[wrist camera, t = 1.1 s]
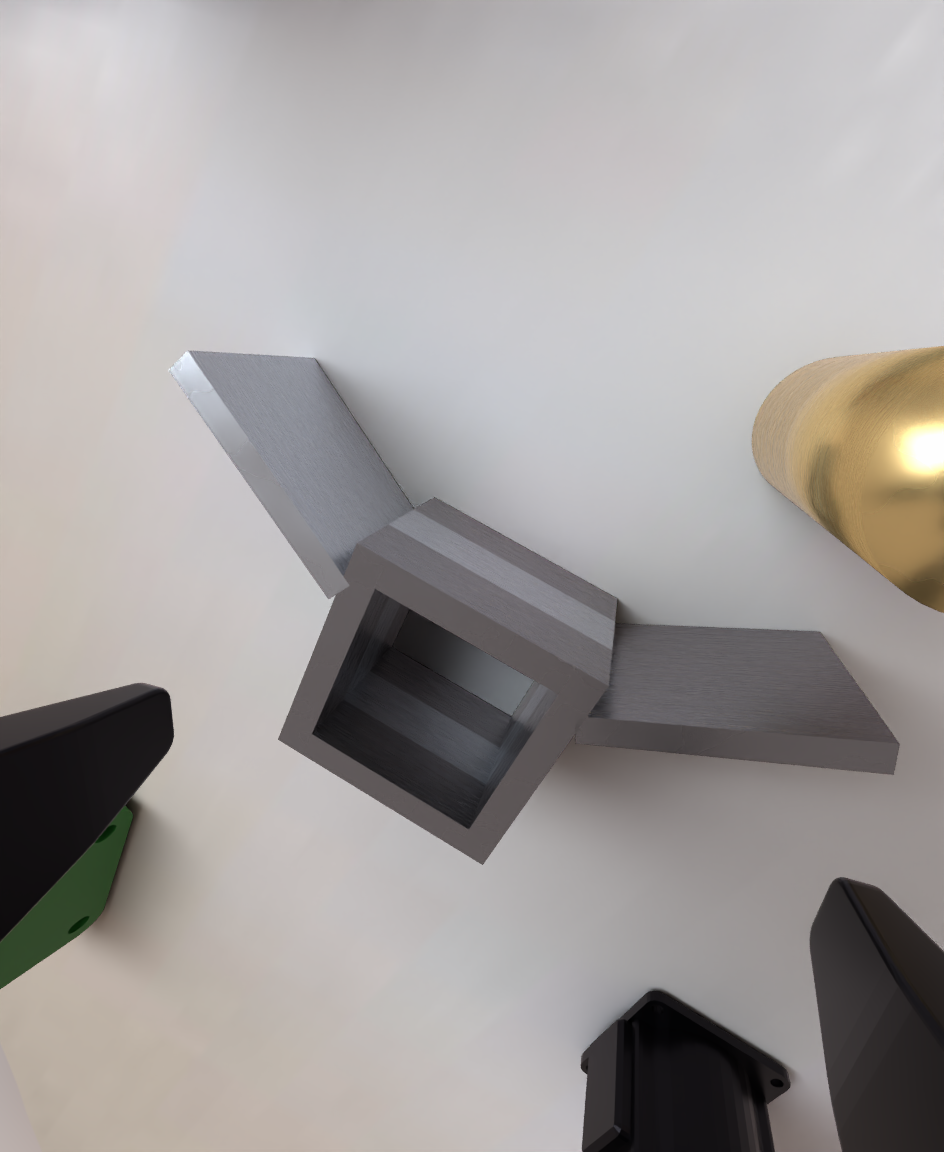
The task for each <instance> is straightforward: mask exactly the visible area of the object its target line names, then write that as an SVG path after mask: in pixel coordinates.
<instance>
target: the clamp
mask: <svg viewBox="0 0 944 1152" xmlns="http://www.w3.org/2000/svg"><path fill="white" fill-rule="evenodd" d="M132 818H133V814H132V812H131V811H130V810H129V809H128V808H127V806H126V805H125V806H124V807H123V809H122V810H121V811H120V812H119V814H118V815H117V816H116V817H115V819H114V820H113V821H112V822H111V824H110V825H109V826H108V827H107V828H106V830H105V831H104V832H103V833H102V834H101V836H100V837H99V838H98V839H97V840H96V841H95V843H94V844H93V845H92V846H91V847H90V848H89V849H88V850H87V851H86V852H85V854H84V855H83V856H82V857H81V858H80V859H79V860H78V861H77V862H76V863H75V864H74V865H73V866H72V867H71V868H70V870H69V871H68V872H67V873H66V874H65V875H64V876H63V877H62V878H61V879H60V880H59V881H58V882H57V883H56V884H55V885H54V886H53V887H52V889H51V890H50V891H49V892H48V893H47V894H46V895H45V896H44V897H43V898H42V899H41V900H40V901H39V902H38V903H37V904H36V905H35V906H34V907H33V909H32V910H31V911H30V912H29V913H28V914H27V915H26V916H25V917H24V918H23V919H22V920H21V921H20V922H19V923H18V924H17V925H16V926H15V928H14V929H13V930H12V931H11V932H10V933H9V934H8V935H7V936H6V937H5V938H4V939H3V940H2V941H1V942H0V989H1V988H3V987H4V986H6V985H7V984H9V983H10V982H11V981H13V980H14V979H16V978H17V977H19V976H20V975H22V974H23V973H25V972H26V971H28V970H29V969H30V968H32V967H33V966H35V965H36V964H38V963H39V962H41V961H42V960H44V959H45V958H47V957H48V956H49V955H51V954H52V953H54V952H55V951H57V950H58V949H60V948H61V947H63V946H64V945H66V944H67V943H68V942H70V941H71V940H73V939H74V938H76V937H77V936H79V935H80V934H81V933H82V932H84V931H85V930H86V929H87V928H88V927H89V926H91V925H92V924H93V923H94V922H95V920H96V919H97V918H98V917H99V916H100V914H101V913H102V911H103V910H104V907H105V904H106V901H107V897H108V894H109V891H110V888H111V885H112V882H113V878H114V875H115V872H116V869H117V866H118V863H119V859H120V856H121V853H122V850H123V847H124V844H125V840H126V837H127V834H128V831H129V828H130V825H131V822H132Z"/></svg>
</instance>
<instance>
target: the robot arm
mask: <svg viewBox="0 0 944 1152" xmlns="http://www.w3.org/2000/svg"><path fill="white" fill-rule="evenodd" d="M173 738H174V729H173V719H172V709H171V699H170V695H169V694H168V692H167V691H166V690H165V689H163V688H161V687H157V686H153V685H150V684H146V683H135V684H131V685H127V686H123V687H119V688H115V689H111V690H107V691H103V692H99V693H95V694H91V695H87V696H83V697H79V698H75V699H71V700H67V701H63V702H59V703H55V704H51V705H47V706H43V707H39V708H35V709H31V710H27V711H23V712H19V713H15V714H11V715H7V716H3V717H0V942H1V941H2V940H3V939H4V938H5V937H6V936H7V935H8V934H9V933H10V932H11V931H12V930H13V929H14V928H15V926H16V925H17V924H18V923H19V922H20V921H21V920H22V919H23V918H24V917H25V916H26V915H27V914H28V913H29V912H30V911H31V910H32V909H33V907H34V906H35V905H36V904H37V903H38V902H39V901H40V900H41V899H42V898H43V897H44V896H45V895H46V894H47V893H48V892H49V891H50V890H51V889H52V887H53V886H54V885H55V884H56V883H57V882H58V881H59V880H60V879H61V878H62V877H63V876H64V875H65V874H66V873H67V872H68V871H69V870H70V868H71V867H72V866H73V865H74V864H75V863H76V862H77V861H78V860H79V859H80V858H81V857H82V856H83V855H84V854H85V852H86V851H87V850H88V849H89V848H90V847H91V846H92V845H93V844H94V843H95V841H96V840H97V839H98V838H99V837H100V836H101V834H102V833H103V832H104V831H105V830H106V828H107V827H108V826H109V825H110V824H111V822H112V821H113V820H114V819H115V817H116V816H117V815H118V814H119V812H120V811H121V810H122V809H123V807H124V806H125V805H126V804H127V802H128V801H129V800H130V799H131V797H132V796H133V795H134V794H135V792H136V791H137V790H138V789H139V787H140V786H141V785H142V784H143V782H144V781H145V780H146V779H147V777H148V776H149V775H150V774H151V772H152V771H153V770H154V769H155V767H156V766H157V765H158V764H159V762H160V761H161V760H162V759H163V757H164V756H165V755H166V754H167V752H168V751H169V749H170V747H171V745H172V742H173ZM810 952H811V960H812V967H813V974H814V982H815V989H816V997H817V1004H818V1011H819V1019H820V1026H821V1033H822V1041H823V1048H824V1056H825V1063H826V1070H827V1077H828V1084H829V1090H830V1096H831V1102H832V1107H833V1112H834V1117H835V1122H836V1126H837V1131H838V1136H839V1140H840V1144H841V1148H842V1152H944V951H943V950H942V949H941V948H940V947H939V946H938V945H937V944H936V943H935V942H934V941H933V940H932V939H931V938H930V937H929V936H928V935H927V934H926V933H925V932H924V931H923V930H922V929H921V928H920V927H919V926H918V925H917V924H916V923H915V922H914V921H913V920H912V919H911V918H910V917H909V916H908V915H907V914H906V913H905V912H904V911H903V910H902V909H901V908H900V907H899V906H898V905H897V904H896V903H895V902H894V901H893V900H892V899H891V898H890V897H889V896H888V895H887V894H885V893H884V892H883V891H882V890H881V889H879V888H878V887H875V886H873V885H870V884H866V883H863V882H859V881H855V880H852V879H848V878H844V877H840V878H836V879H835V880H834V881H833V882H832V883H831V885H830V887H829V889H828V891H827V893H826V895H825V898H824V900H823V902H822V904H821V906H820V909H819V911H818V913H817V915H816V917H815V920H814V922H813V924H812V927H811V932H810ZM581 1069H582V1070H583V1072H585V1073H586V1074H587V1087H586V1100H585V1114H584V1127H583V1140H582V1152H775V1149H774V1143H773V1138H772V1132H771V1126H770V1120H769V1115H768V1109H767V1104H768V1103H770V1102H771V1101H773V1100H774V1099H776V1098H777V1097H778V1096H780V1095H781V1094H783V1093H784V1092H786V1091H787V1090H788V1089H789V1088H790V1080H789V1076H788V1072H787V1071H786V1069H785V1068H783V1067H782V1066H780V1065H779V1064H777V1063H775V1062H774V1061H772V1060H771V1059H769V1058H767V1057H766V1056H764V1055H762V1054H761V1053H759V1052H758V1051H756V1050H754V1049H753V1048H751V1047H749V1046H748V1045H746V1044H745V1043H743V1042H741V1041H740V1040H738V1039H737V1038H735V1037H733V1036H732V1035H730V1034H728V1033H727V1032H725V1031H724V1030H722V1029H720V1028H719V1027H717V1026H715V1025H714V1024H712V1023H711V1022H709V1021H707V1020H706V1019H704V1018H702V1017H701V1016H699V1015H698V1014H696V1013H694V1012H693V1011H691V1010H689V1009H688V1008H686V1007H685V1006H683V1005H681V1004H680V1003H678V1002H676V1001H675V1000H673V999H672V998H670V997H668V996H667V995H665V994H663V993H661V992H658V991H650V992H648V993H647V994H646V995H644V996H643V997H642V998H641V999H640V1000H639V1001H638V1002H637V1003H636V1004H635V1005H634V1006H633V1007H632V1008H631V1009H630V1010H629V1011H627V1012H626V1013H625V1014H624V1015H623V1016H622V1017H621V1018H620V1019H618V1020H617V1021H615V1022H614V1023H613V1024H612V1025H611V1026H610V1027H609V1028H608V1029H607V1030H606V1031H605V1032H604V1033H603V1034H602V1035H601V1036H599V1037H598V1038H597V1039H596V1040H595V1041H594V1042H593V1043H592V1044H591V1045H590V1047H589V1048H588V1049H587V1050H586V1051H585V1052H584V1053H583V1054H582V1056H581Z"/></svg>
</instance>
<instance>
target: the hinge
mask: <svg viewBox="0 0 944 1152" xmlns="http://www.w3.org/2000/svg"><path fill="white" fill-rule="evenodd" d="M169 372H170V373H171V374H172V376H173V377H174V379H175V380H176V382H177V383H178V384H179V386H180V387H181V389H182V390H183V392H184V393H185V394H186V396H187V397H188V399H189V400H190V402H191V403H192V404H193V406H194V407H195V409H196V410H197V412H198V413H199V414H200V416H201V417H202V419H203V420H204V422H205V423H206V425H207V426H208V427H209V429H210V430H211V432H212V433H213V435H214V436H215V437H216V439H217V440H218V442H219V443H220V445H221V446H222V447H223V449H224V450H225V452H226V453H227V455H228V456H229V457H230V459H231V460H232V462H233V463H234V465H235V466H236V467H237V469H238V470H239V472H240V473H241V475H242V476H243V478H244V479H245V480H246V482H247V483H248V485H249V486H250V488H251V489H252V490H253V492H254V493H255V495H256V496H257V498H258V499H259V500H260V502H261V503H262V505H263V506H264V508H265V509H266V510H267V512H268V513H269V515H270V516H271V518H272V519H273V520H274V522H275V523H276V525H277V526H278V528H279V529H280V531H281V532H282V533H283V535H284V536H285V538H286V539H287V541H288V542H289V543H290V545H291V546H292V548H293V549H294V551H295V552H296V553H297V555H298V556H299V558H300V559H301V561H302V562H303V563H304V565H305V566H306V568H307V569H308V571H309V572H310V573H311V575H312V576H313V578H314V579H315V581H316V582H317V584H318V585H319V586H320V588H321V589H322V591H323V592H324V594H325V595H326V596H327V598H328V599H330V598H331V597H333V596H334V595H336V596H335V599H334V601H333V604H332V606H331V609H330V611H329V614H328V616H327V619H326V621H325V624H324V626H323V629H322V631H321V634H320V636H319V639H318V641H317V644H316V646H315V649H314V651H313V654H312V656H311V659H310V661H309V664H308V666H307V669H306V671H305V674H304V676H303V679H302V681H301V684H300V686H299V689H298V691H297V693H296V696H295V698H294V701H293V703H292V706H291V708H290V711H289V713H288V716H287V718H286V721H285V723H284V726H283V728H282V731H281V733H280V736H279V738H278V740H280V741H281V742H283V743H285V744H286V745H288V746H289V747H291V748H293V749H294V750H296V751H298V752H299V753H301V754H302V755H304V756H306V757H307V758H309V759H311V760H312V761H314V762H316V763H317V764H319V765H320V766H322V767H324V768H325V769H327V770H329V771H330V772H332V773H333V774H335V775H337V776H338V777H340V778H342V779H343V780H345V781H347V782H348V783H350V784H351V785H353V786H355V787H356V788H358V789H360V790H361V791H363V792H364V793H366V794H368V795H369V796H371V797H373V798H374V799H376V800H378V801H379V802H381V803H382V804H384V805H386V806H387V807H389V808H391V809H392V810H394V811H396V812H397V813H399V814H400V815H402V816H404V817H405V818H407V819H409V820H410V821H412V822H413V823H415V824H417V825H418V826H420V827H422V828H423V829H425V830H427V831H428V832H430V833H431V834H433V835H435V836H436V837H438V838H440V839H441V840H443V841H444V842H446V843H448V844H449V845H451V846H453V847H454V848H456V849H458V850H459V851H461V852H462V853H464V854H466V855H467V856H469V857H471V858H472V859H474V860H475V861H477V862H479V863H480V864H482V865H483V864H484V862H485V861H486V860H487V858H488V857H489V855H490V854H491V852H492V851H493V850H494V848H495V847H496V845H497V844H498V842H499V841H500V840H501V838H502V837H503V835H504V834H505V833H506V831H507V830H508V828H509V827H510V825H511V824H512V823H513V821H514V820H515V818H516V817H517V816H518V814H519V813H520V811H521V810H522V808H523V807H524V806H525V804H526V803H527V801H528V800H529V799H530V797H531V796H532V794H533V793H534V791H535V790H536V789H537V787H538V786H539V784H540V783H541V781H542V780H543V779H544V777H545V776H546V774H547V773H548V772H549V770H550V769H551V767H552V766H553V764H554V763H555V762H556V760H557V759H558V757H559V756H560V755H561V753H562V752H563V750H564V749H565V747H566V746H567V745H568V743H569V742H570V740H571V739H572V738H573V736H574V735H575V733H576V743H578V744H588V745H598V746H609V747H619V748H629V749H639V750H649V751H659V752H669V753H679V754H690V755H700V756H710V757H720V758H730V759H740V760H750V761H760V762H771V763H781V764H791V765H801V766H811V767H821V768H831V769H841V770H852V771H862V772H872V773H882V774H892V775H894V771H895V765H896V760H897V755H898V750H899V742H898V741H897V740H896V738H895V737H894V735H893V734H892V732H891V731H890V730H889V728H888V727H887V725H886V724H885V723H884V721H883V720H882V718H881V717H880V716H879V714H878V713H877V711H876V710H875V709H874V707H873V706H872V704H871V703H870V701H869V700H868V699H867V697H866V696H865V694H864V693H863V692H862V690H861V689H860V687H859V686H858V685H857V683H856V682H855V680H854V679H853V678H852V676H851V675H850V673H849V672H848V670H847V669H846V668H845V666H844V665H843V663H842V662H841V661H840V659H839V658H838V656H837V655H836V654H835V652H834V651H833V649H832V648H831V647H830V645H829V644H828V642H827V641H826V639H825V638H824V637H823V635H822V634H821V632H814V631H789V630H764V629H739V628H715V627H690V626H665V625H640V624H615V618H616V608H617V598H615V597H613V596H612V595H610V594H608V593H606V592H604V591H603V590H601V589H599V588H597V587H595V586H594V585H592V584H590V583H588V582H586V581H585V580H583V579H581V578H579V577H577V576H575V575H574V574H572V573H570V572H568V571H566V570H565V569H563V568H561V567H559V566H557V565H556V564H554V563H552V562H550V561H548V560H547V559H545V558H543V557H541V556H539V555H538V554H536V553H534V552H532V551H530V550H529V549H527V548H525V547H523V546H521V545H520V544H518V543H516V542H514V541H512V540H511V539H509V538H507V537H505V536H503V535H502V534H500V533H498V532H496V531H494V530H492V529H491V528H489V527H487V526H485V525H483V524H482V523H480V522H478V521H476V520H474V519H473V518H471V517H469V516H467V515H465V514H464V513H462V512H460V511H458V510H456V509H455V508H453V507H451V506H449V505H447V504H446V503H444V502H442V501H440V500H438V499H437V498H435V497H434V498H433V499H431V500H429V501H427V502H426V503H424V504H422V505H421V506H419V507H417V508H416V509H413V507H412V506H411V504H410V503H409V501H408V500H407V498H406V497H405V495H404V493H403V492H402V490H401V489H400V487H399V486H398V484H397V483H396V481H395V480H394V478H393V477H392V475H391V474H390V472H389V471H388V469H387V468H386V466H385V465H384V463H383V462H382V460H381V459H380V457H379V455H378V454H377V452H376V451H375V449H374V448H373V446H372V445H371V443H370V442H369V440H368V439H367V437H366V436H365V434H364V433H363V431H362V430H361V428H360V427H359V425H358V424H357V422H356V421H355V419H354V417H353V416H352V414H351V413H350V411H349V410H348V408H347V407H346V405H345V404H344V402H343V401H342V399H341V398H340V396H339V395H338V393H337V392H336V390H335V389H334V387H333V386H332V384H331V382H330V381H329V379H328V378H327V376H326V375H325V373H324V372H323V370H322V369H321V367H320V366H319V364H318V363H317V361H316V360H315V358H305V357H288V356H271V355H254V354H237V353H220V352H203V351H187V352H186V353H185V354H184V355H183V356H182V357H181V358H180V359H179V360H178V361H177V362H176V363H175V364H174V365H173V366H172V367H171V368H170V369H169ZM409 609H411V610H413V611H414V612H416V613H418V614H420V615H421V616H423V617H425V618H427V619H428V620H430V621H432V622H434V623H435V624H437V625H439V626H441V627H442V628H444V629H446V630H447V631H449V632H451V633H453V634H454V635H456V636H458V637H460V638H461V639H463V640H465V641H467V642H468V643H470V644H472V645H474V646H475V647H477V648H479V649H480V650H482V651H484V652H486V653H487V654H489V655H491V656H493V657H494V658H496V659H498V660H500V661H501V662H503V663H505V664H507V665H508V666H510V667H512V668H513V669H515V670H517V671H519V672H520V673H522V674H524V675H526V676H527V677H529V678H531V679H533V680H534V682H533V683H532V685H531V687H530V688H529V690H528V691H527V693H526V695H525V696H524V698H523V699H522V701H521V702H520V704H519V706H518V707H517V709H516V710H515V712H514V714H513V715H512V717H511V716H509V715H507V714H505V713H504V712H502V711H500V710H499V709H497V708H495V707H493V706H492V705H490V704H488V703H487V702H485V701H483V700H481V699H480V698H478V697H476V696H475V695H473V694H471V693H469V692H468V691H466V690H464V689H463V688H461V687H459V686H458V685H456V684H454V683H452V682H451V681H449V680H447V679H446V678H444V677H442V676H440V675H439V674H437V673H435V672H434V671H432V670H430V669H428V668H427V667H425V666H423V665H422V664H420V663H418V662H416V661H415V660H413V659H411V658H410V657H408V656H406V655H404V654H403V653H401V652H399V651H398V650H396V649H394V648H392V645H393V643H394V641H395V639H396V637H397V635H398V633H399V631H400V628H401V626H402V624H403V622H404V620H405V618H406V616H407V614H408V612H409Z"/></svg>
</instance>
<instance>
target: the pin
mask: <svg viewBox="0 0 944 1152" xmlns="http://www.w3.org/2000/svg"><path fill="white" fill-rule="evenodd" d="M752 450H753V455H754V459H755V462H756V464H757V467H758V469H759V471H760V472H761V474H762V475H763V477H764V478H765V479H766V480H767V481H768V482H769V483H770V484H771V485H772V486H773V487H774V488H776V489H777V490H778V491H779V492H781V493H782V494H783V495H784V496H785V497H787V498H788V499H789V500H790V501H792V502H793V503H794V504H795V505H797V506H798V507H799V508H800V509H802V510H803V511H804V512H805V513H806V514H808V515H809V516H810V517H811V518H813V519H814V520H815V521H816V522H818V523H819V524H820V525H821V526H823V527H824V528H825V529H826V530H827V531H829V532H830V533H831V534H832V535H834V536H835V537H836V538H837V539H839V540H840V541H841V542H842V543H844V544H845V545H846V546H847V547H848V548H850V549H851V550H852V551H853V552H855V553H856V554H857V555H858V556H860V557H861V558H862V559H863V560H864V561H866V562H867V563H868V564H869V565H871V566H872V567H873V568H874V569H876V570H877V571H878V572H879V573H881V574H882V575H883V576H884V577H885V578H887V579H888V580H889V581H890V582H892V583H893V584H894V585H895V586H897V587H898V588H899V589H900V590H902V591H903V592H904V593H905V594H907V595H908V596H910V597H911V598H913V599H915V600H916V601H918V602H920V603H921V604H923V605H926V606H928V607H930V608H932V609H935V610H937V611H940V612H943V613H944V346H939V347H929V348H920V349H910V350H900V351H891V352H881V353H871V354H862V355H852V356H842V357H834V358H827V359H823V360H819V361H816V362H813V363H811V364H808V365H806V366H804V367H802V368H800V369H798V370H796V371H795V372H793V373H792V374H790V375H789V376H787V377H786V378H785V379H784V380H782V381H781V382H780V383H779V384H778V385H777V386H776V387H775V388H774V389H773V390H772V391H771V392H770V394H769V395H768V396H767V398H766V399H765V400H764V402H763V404H762V406H761V407H760V409H759V412H758V414H757V416H756V419H755V422H754V426H753V432H752Z"/></svg>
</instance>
